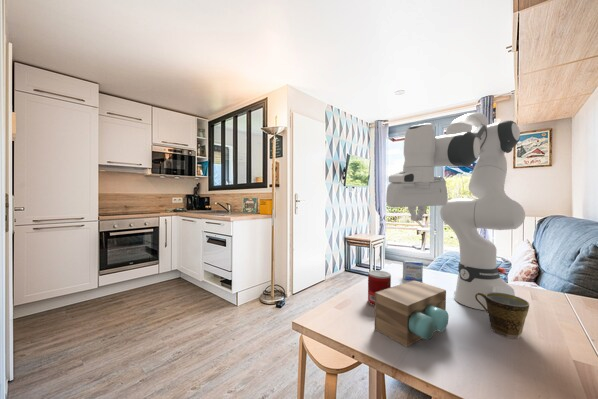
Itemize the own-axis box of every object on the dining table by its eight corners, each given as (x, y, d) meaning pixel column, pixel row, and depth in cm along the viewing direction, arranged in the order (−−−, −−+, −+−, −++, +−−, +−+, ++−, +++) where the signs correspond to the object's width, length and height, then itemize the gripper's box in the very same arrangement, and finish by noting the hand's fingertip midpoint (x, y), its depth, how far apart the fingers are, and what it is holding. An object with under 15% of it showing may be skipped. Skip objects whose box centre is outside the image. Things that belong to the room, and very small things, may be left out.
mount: (413, 311, 86) (413, 280, 86) (460, 331, 74) (461, 294, 74) (374, 328, 75) (375, 292, 75) (422, 355, 63) (423, 312, 63)
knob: (403, 309, 81) (403, 291, 81) (448, 328, 70) (448, 308, 70) (392, 313, 78) (393, 295, 78) (437, 334, 67) (438, 313, 67)
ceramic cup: (533, 335, 72) (534, 301, 72) (521, 346, 67) (522, 309, 67) (481, 316, 83) (482, 286, 83) (467, 325, 78) (468, 293, 78)
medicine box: (404, 280, 118) (405, 262, 118) (402, 277, 123) (402, 259, 123) (422, 281, 117) (423, 262, 117) (419, 278, 122) (420, 260, 121)
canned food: (391, 308, 89) (392, 277, 89) (368, 306, 91) (369, 275, 90) (388, 299, 96) (389, 271, 96) (367, 297, 98) (367, 269, 98)
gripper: (437, 176, 84) (436, 217, 85) (383, 176, 79) (383, 220, 80) (453, 176, 78) (451, 220, 79) (396, 176, 73) (395, 223, 74)
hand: (416, 220), depth 79 cm, fingers closed
